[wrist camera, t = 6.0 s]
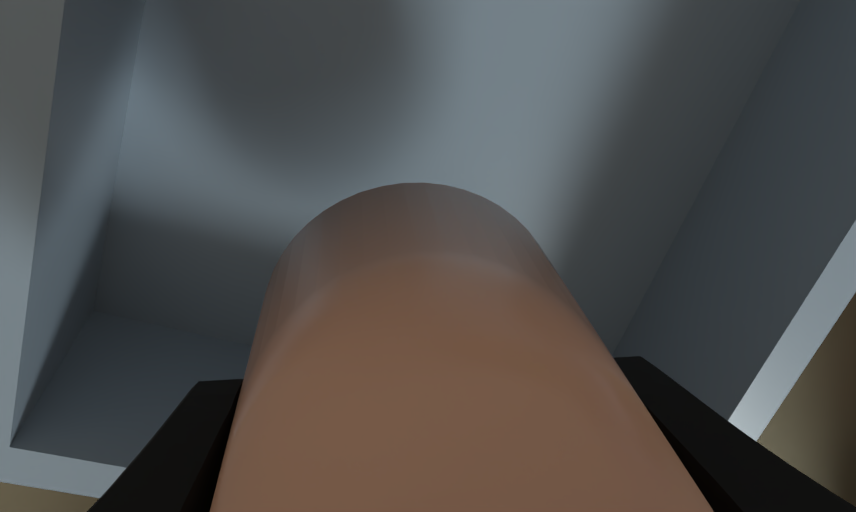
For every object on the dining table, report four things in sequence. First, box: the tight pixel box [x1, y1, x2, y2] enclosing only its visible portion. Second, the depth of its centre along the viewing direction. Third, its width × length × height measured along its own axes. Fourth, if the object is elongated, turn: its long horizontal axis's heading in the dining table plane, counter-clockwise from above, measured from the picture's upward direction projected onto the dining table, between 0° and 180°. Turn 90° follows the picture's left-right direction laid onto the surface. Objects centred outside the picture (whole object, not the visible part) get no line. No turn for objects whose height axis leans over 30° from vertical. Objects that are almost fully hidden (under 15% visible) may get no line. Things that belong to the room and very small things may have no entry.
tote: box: [0, 0, 856, 498], centre depth 12 cm, size 18×14×5 cm
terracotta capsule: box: [210, 183, 714, 512], centre depth 9 cm, size 5×5×7 cm
